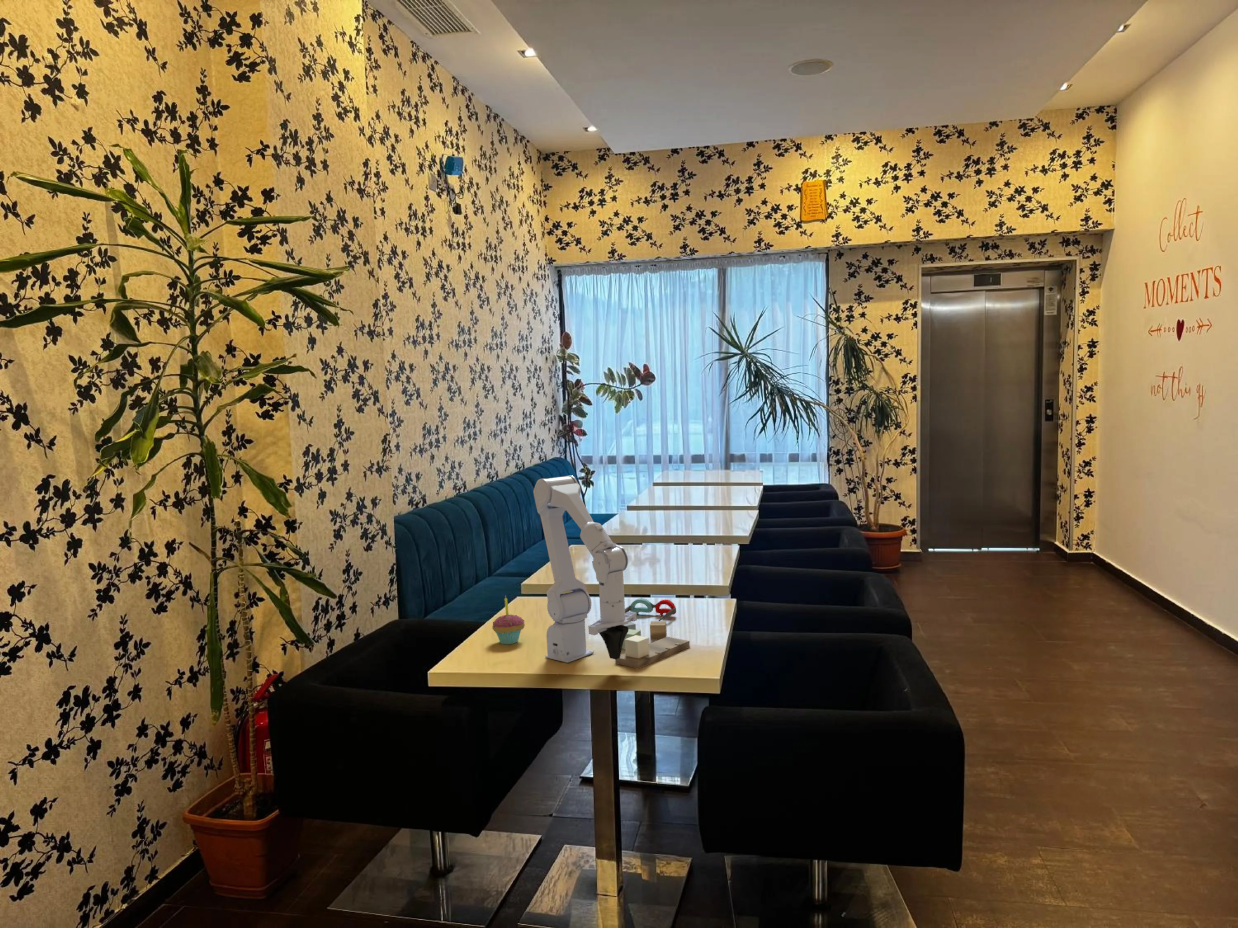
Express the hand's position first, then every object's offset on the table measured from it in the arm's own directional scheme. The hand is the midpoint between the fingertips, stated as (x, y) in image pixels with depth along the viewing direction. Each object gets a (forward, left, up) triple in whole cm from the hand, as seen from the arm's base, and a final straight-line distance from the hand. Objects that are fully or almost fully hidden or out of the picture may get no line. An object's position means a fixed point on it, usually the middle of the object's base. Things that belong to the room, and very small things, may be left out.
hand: (614, 658), depth 195 cm
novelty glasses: (+37, +21, -4) cm, 43 cm away
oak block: (+26, +8, -3) cm, 27 cm away
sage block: (+16, +9, -3) cm, 19 cm away
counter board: (+14, 0, -3) cm, 14 cm away
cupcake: (+2, +39, -3) cm, 39 cm away
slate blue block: (+21, +15, -3) cm, 26 cm away
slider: (+8, 0, -1) cm, 8 cm away
